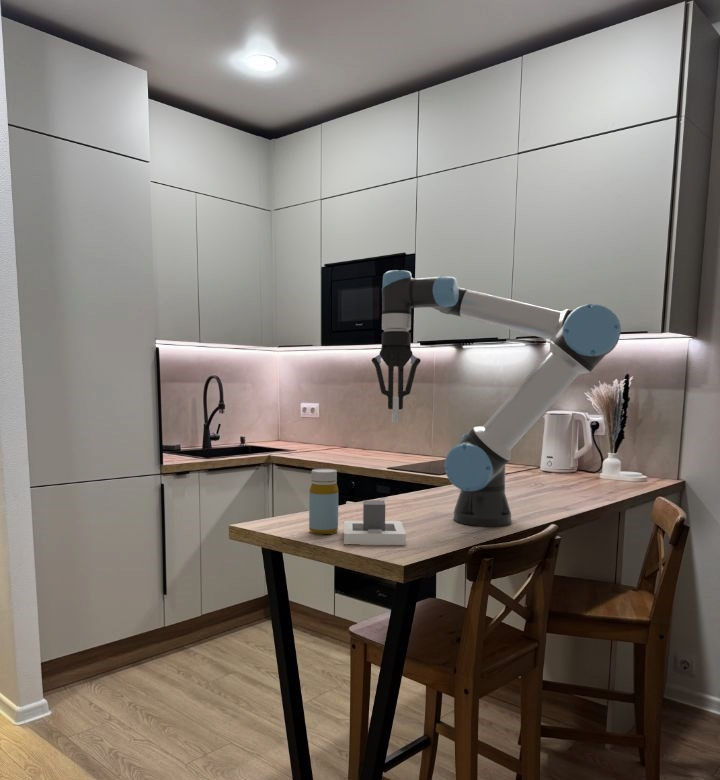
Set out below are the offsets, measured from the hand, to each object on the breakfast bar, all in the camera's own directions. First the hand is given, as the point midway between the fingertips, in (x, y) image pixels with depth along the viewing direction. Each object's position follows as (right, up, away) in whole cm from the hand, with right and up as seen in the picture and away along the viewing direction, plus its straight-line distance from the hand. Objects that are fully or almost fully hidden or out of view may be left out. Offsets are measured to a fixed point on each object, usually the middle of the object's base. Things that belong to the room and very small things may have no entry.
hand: (395, 422), depth 161 cm
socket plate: (-6, -27, -15) cm, 31 cm away
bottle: (-18, -27, -10) cm, 33 cm away
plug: (-6, -26, -15) cm, 31 cm away
